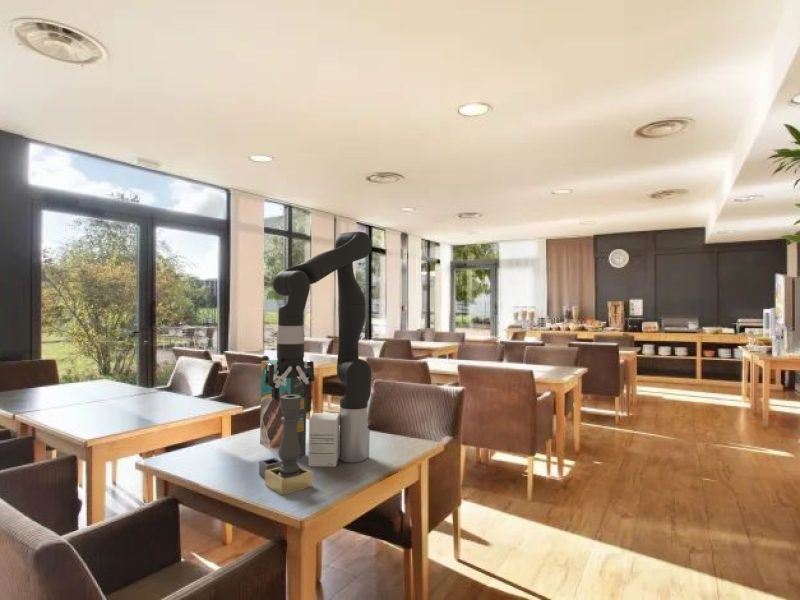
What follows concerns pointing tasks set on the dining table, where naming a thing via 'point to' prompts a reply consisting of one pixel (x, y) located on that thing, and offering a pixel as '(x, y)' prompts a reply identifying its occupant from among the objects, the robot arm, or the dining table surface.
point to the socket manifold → (284, 485)
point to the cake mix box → (279, 411)
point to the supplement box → (324, 439)
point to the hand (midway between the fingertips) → (290, 399)
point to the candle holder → (289, 436)
